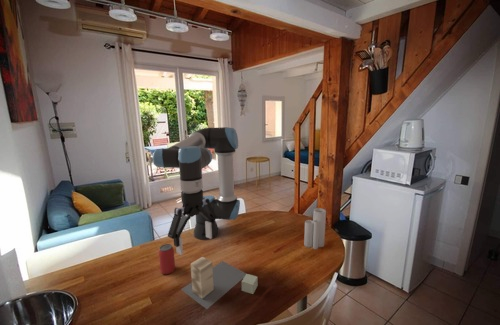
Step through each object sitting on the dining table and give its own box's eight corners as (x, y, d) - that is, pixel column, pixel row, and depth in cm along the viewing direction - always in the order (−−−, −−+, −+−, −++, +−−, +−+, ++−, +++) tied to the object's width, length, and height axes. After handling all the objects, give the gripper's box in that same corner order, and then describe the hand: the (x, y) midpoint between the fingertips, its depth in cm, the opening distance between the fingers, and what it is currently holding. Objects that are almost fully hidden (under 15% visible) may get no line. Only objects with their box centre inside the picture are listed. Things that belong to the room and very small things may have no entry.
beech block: (192, 292, 92) (190, 263, 90) (204, 283, 97) (202, 256, 94) (202, 299, 89) (200, 269, 86) (213, 290, 93) (212, 261, 91)
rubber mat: (181, 290, 94) (180, 289, 94) (222, 262, 112) (222, 260, 112) (206, 310, 84) (206, 309, 84) (247, 275, 103) (247, 274, 102)
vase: (318, 239, 132) (320, 207, 128) (327, 246, 125) (329, 212, 121) (302, 243, 127) (303, 210, 124) (310, 250, 121) (311, 215, 117)
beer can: (178, 267, 109) (176, 244, 106) (169, 276, 103) (167, 252, 100) (166, 264, 111) (164, 242, 109) (157, 273, 105) (154, 249, 102)
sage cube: (241, 292, 93) (241, 281, 92) (246, 283, 98) (246, 273, 97) (253, 295, 91) (252, 284, 90) (257, 287, 96) (257, 276, 95)
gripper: (166, 202, 69) (171, 265, 73) (224, 183, 88) (225, 234, 92) (153, 197, 73) (158, 257, 77) (210, 180, 93) (212, 229, 96)
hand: (195, 245), depth 85 cm, fingers open, 13 cm apart
